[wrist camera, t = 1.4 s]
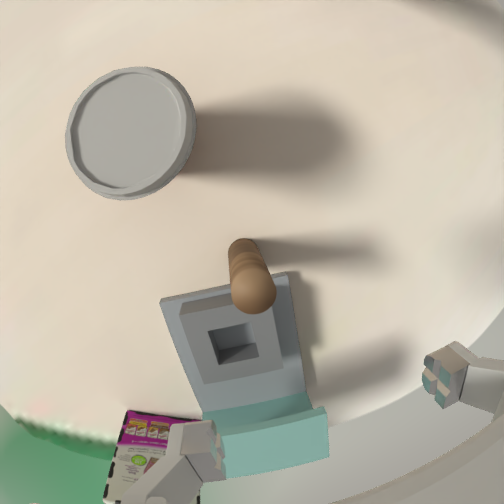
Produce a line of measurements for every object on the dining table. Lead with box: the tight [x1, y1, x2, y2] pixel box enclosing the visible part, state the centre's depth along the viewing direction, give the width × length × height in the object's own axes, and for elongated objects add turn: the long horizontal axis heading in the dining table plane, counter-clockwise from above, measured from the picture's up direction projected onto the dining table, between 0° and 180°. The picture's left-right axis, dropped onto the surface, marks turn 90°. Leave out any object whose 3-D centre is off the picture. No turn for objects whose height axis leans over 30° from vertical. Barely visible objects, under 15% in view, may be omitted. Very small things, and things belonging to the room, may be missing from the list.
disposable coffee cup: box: [65, 67, 196, 200], centre depth 22 cm, size 10×10×12 cm
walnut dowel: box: [228, 239, 277, 314], centre depth 26 cm, size 3×3×11 cm
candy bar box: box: [103, 410, 200, 504], centre depth 29 cm, size 11×5×16 cm, turn 82°
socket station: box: [159, 272, 329, 478], centre depth 29 cm, size 18×14×12 cm
